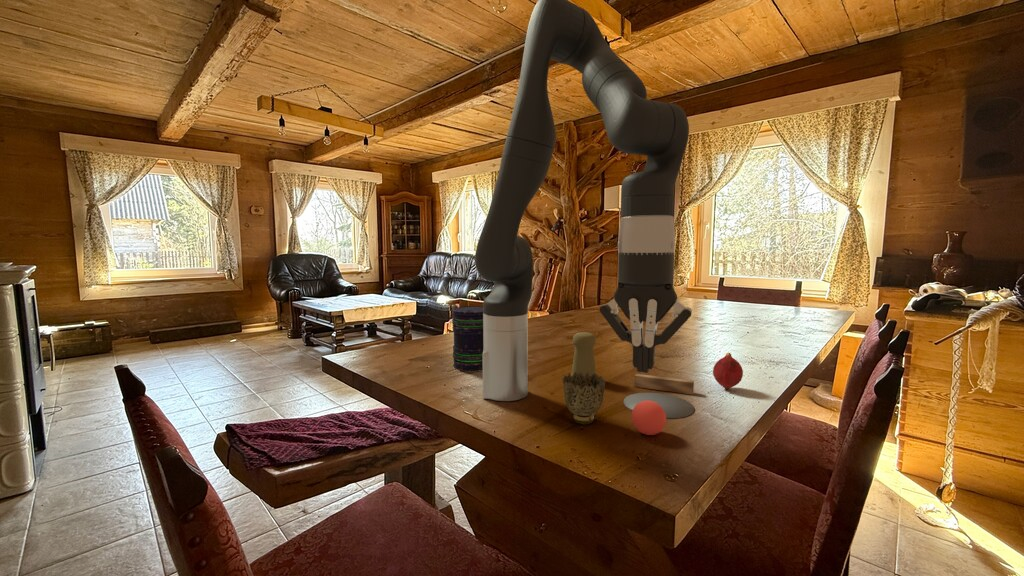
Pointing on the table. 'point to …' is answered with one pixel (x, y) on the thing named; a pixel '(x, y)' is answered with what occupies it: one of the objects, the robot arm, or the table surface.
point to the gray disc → (662, 403)
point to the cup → (583, 395)
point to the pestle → (583, 353)
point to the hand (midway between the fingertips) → (643, 370)
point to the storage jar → (468, 338)
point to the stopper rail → (664, 383)
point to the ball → (648, 417)
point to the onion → (727, 371)
